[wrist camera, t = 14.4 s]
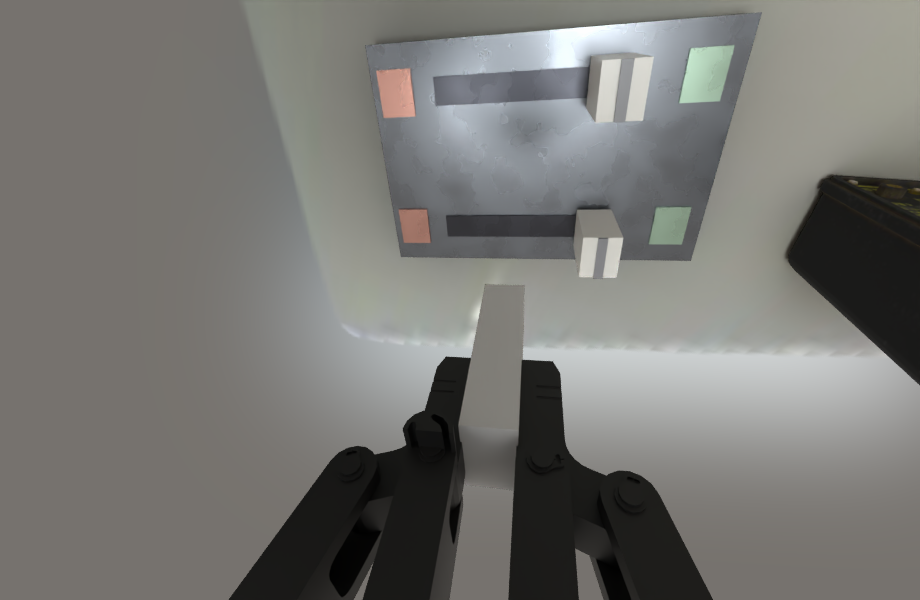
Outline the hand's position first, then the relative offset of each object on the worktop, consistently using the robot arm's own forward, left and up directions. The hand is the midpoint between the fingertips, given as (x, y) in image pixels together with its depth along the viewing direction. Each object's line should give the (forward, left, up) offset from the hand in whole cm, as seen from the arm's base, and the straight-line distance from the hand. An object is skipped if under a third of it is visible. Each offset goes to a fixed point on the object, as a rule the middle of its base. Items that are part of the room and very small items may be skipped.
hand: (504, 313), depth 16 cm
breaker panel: (-1, +2, -19) cm, 19 cm away
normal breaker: (-6, +6, -17) cm, 19 cm away
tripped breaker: (+4, +6, -17) cm, 18 cm away
